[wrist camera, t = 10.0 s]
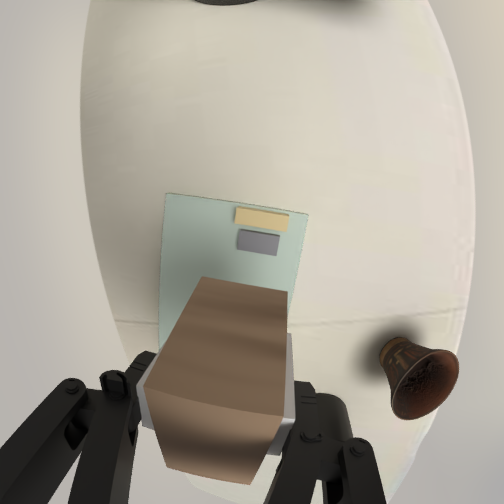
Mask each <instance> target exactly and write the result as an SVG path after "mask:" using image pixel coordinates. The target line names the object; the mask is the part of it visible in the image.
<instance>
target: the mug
mask: <svg viewBox="0 0 504 504" xmlns="http://www.w3.org/2000/svg"><path fill="white" fill-rule="evenodd" d="M316 402H317V404H316V405H317V409H318V417H319V426H320V429H321V430H323V432H324V434H325V435H326V436H327V437H329V438H331V439H334V440H337V441H341V442H344V443H345V441H347V440H348V439H350V438H353V434H352V429H351V425H350V421H349V417H348V412H347V408H346V406H345V404H344V402H343V401H341V400H340V399H339V398H337V397H335V396H333V395H329V394H316Z"/></svg>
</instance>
